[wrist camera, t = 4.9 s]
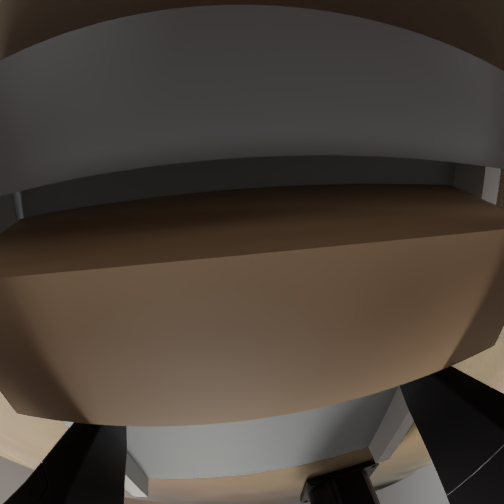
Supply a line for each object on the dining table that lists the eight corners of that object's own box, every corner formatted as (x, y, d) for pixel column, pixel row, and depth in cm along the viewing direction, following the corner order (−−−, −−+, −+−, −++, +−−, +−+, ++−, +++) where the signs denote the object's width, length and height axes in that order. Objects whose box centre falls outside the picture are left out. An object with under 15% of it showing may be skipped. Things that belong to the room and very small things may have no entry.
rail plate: (384, 429, 17) (405, 471, 14) (125, 464, 15) (122, 514, 11) (467, 88, 8) (544, 96, 5) (-16, 112, 6) (-95, 125, 3)
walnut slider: (430, 284, 10) (494, 345, 7) (58, 326, 9) (17, 413, 5) (449, 185, 9) (536, 226, 5) (22, 218, 7) (-59, 283, 3)
